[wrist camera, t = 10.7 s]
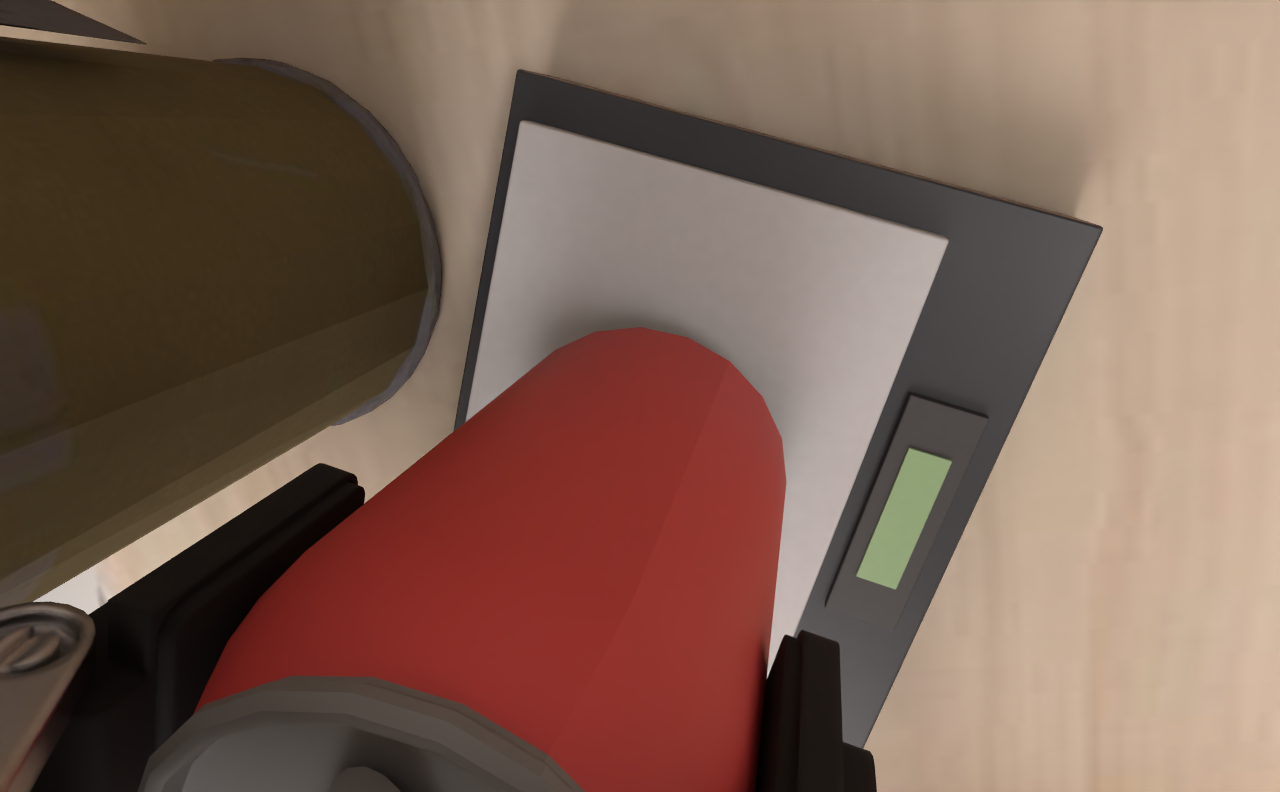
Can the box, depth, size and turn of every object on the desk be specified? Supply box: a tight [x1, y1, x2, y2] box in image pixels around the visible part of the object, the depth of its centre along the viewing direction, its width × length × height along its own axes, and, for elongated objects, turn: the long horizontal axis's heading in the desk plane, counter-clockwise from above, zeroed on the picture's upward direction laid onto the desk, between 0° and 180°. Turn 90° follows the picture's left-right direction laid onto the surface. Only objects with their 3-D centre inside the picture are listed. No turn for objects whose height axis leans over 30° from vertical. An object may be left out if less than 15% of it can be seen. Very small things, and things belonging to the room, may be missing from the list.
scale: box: [454, 69, 1103, 749], centre depth 20 cm, size 15×13×3 cm
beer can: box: [138, 327, 787, 792], centre depth 13 cm, size 7×7×12 cm
